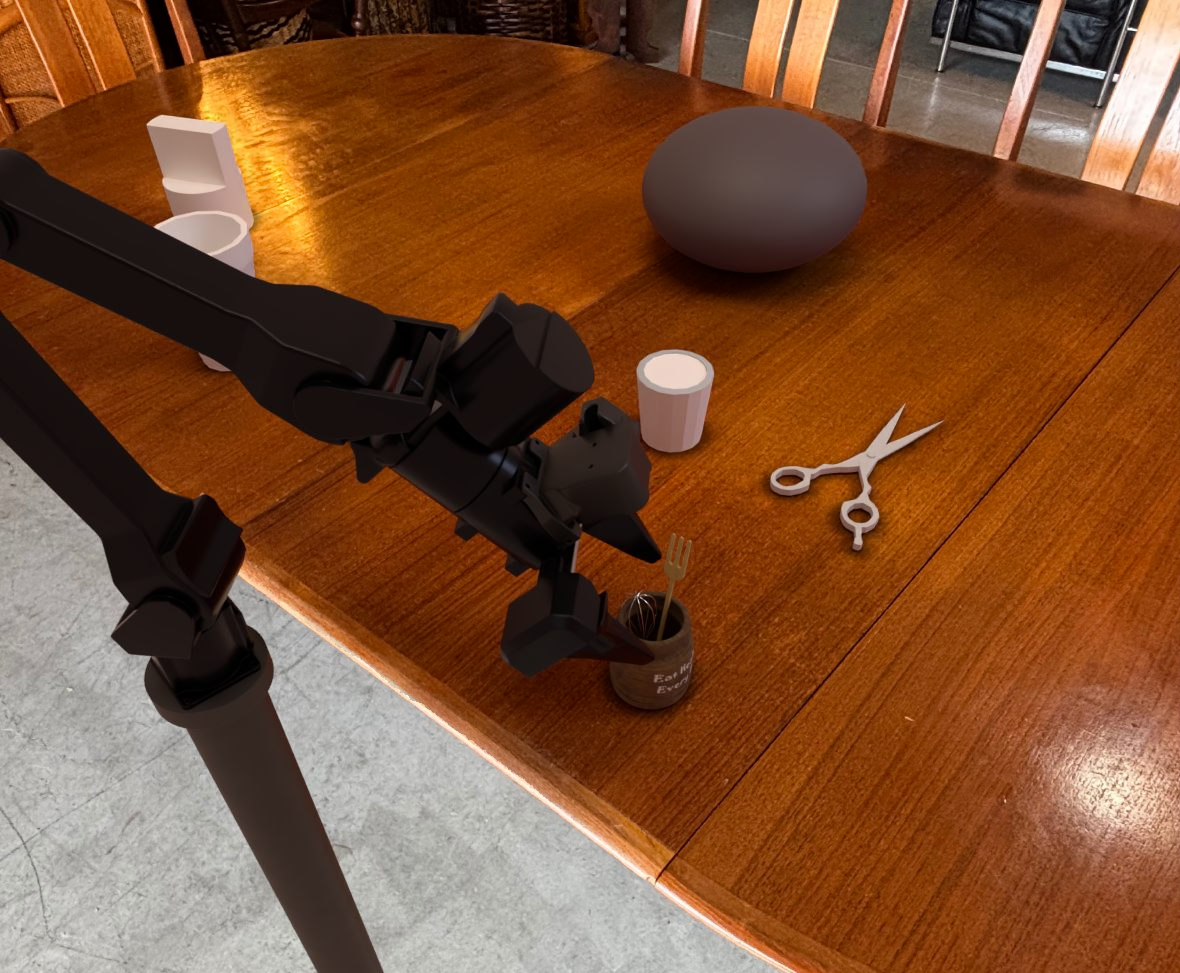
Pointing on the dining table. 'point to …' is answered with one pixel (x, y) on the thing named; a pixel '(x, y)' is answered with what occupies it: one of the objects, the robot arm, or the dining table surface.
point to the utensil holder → (657, 641)
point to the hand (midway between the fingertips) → (654, 607)
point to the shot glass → (673, 398)
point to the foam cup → (214, 243)
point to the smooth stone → (754, 189)
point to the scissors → (857, 463)
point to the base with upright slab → (199, 167)
